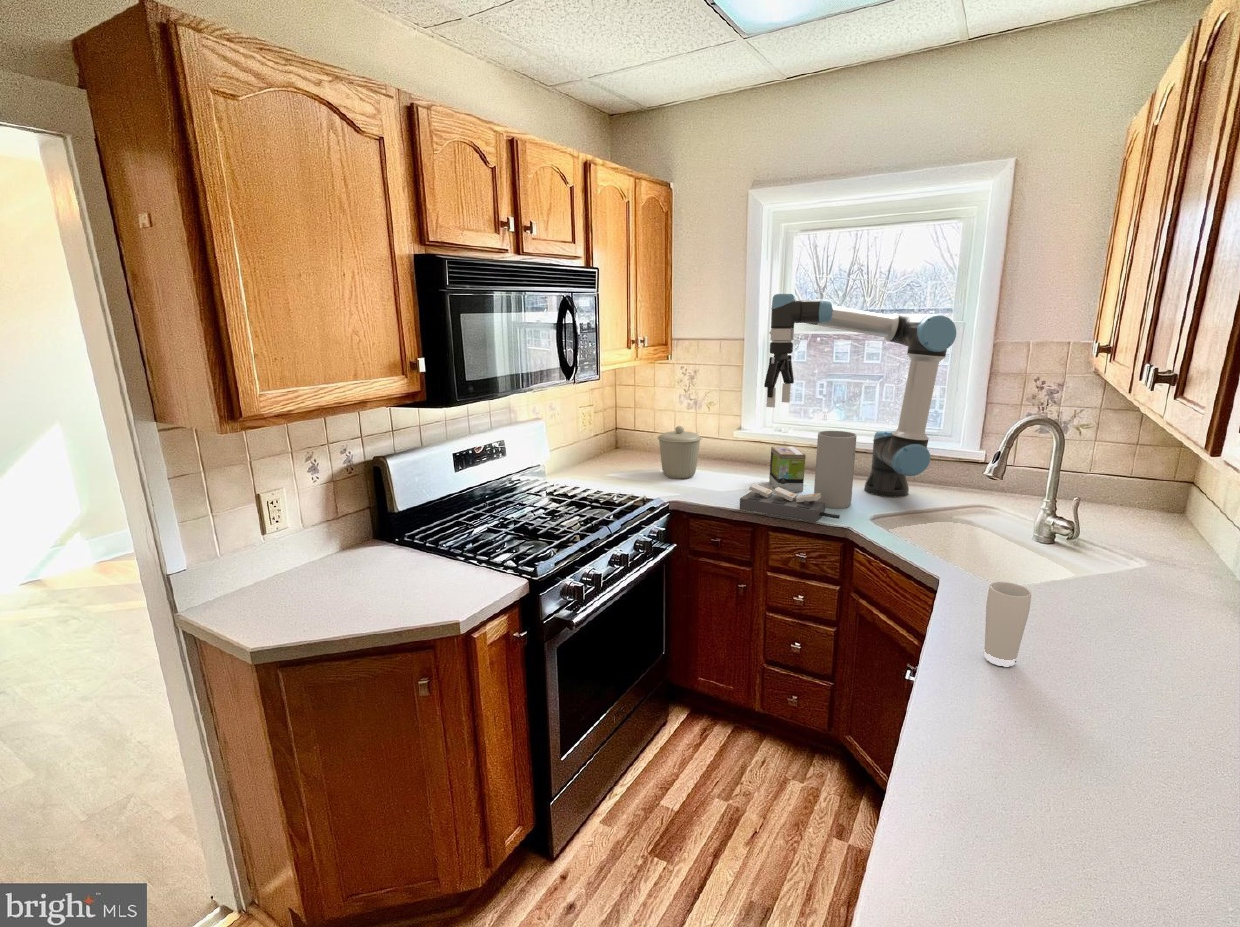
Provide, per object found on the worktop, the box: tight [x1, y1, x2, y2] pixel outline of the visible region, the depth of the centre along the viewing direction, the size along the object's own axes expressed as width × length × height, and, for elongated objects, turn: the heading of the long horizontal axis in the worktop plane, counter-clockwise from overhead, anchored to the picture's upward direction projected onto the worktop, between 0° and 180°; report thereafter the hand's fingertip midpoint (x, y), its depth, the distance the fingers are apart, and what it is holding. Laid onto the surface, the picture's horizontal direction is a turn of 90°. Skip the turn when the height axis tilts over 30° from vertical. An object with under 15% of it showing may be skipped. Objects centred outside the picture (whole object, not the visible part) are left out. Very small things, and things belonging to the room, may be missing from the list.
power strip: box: [739, 491, 841, 523], centre depth 205 cm, size 32×10×5 cm, turn 56°
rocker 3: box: [796, 493, 821, 502], centre depth 203 cm, size 7×4×2 cm, turn 56°
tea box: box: [768, 446, 807, 493], centre depth 235 cm, size 15×10×15 cm
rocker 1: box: [748, 483, 774, 498], centre depth 212 cm, size 7×4×2 cm, turn 56°
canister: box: [656, 425, 703, 480], centre depth 252 cm, size 18×18×21 cm
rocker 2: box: [772, 487, 798, 501], centre depth 207 cm, size 7×4×2 cm, turn 57°
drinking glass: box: [984, 581, 1032, 660], centre depth 115 cm, size 7×7×15 cm
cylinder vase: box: [813, 430, 858, 510], centre depth 212 cm, size 12×12×25 cm
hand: (778, 404), depth 209 cm, fingers open, 13 cm apart
